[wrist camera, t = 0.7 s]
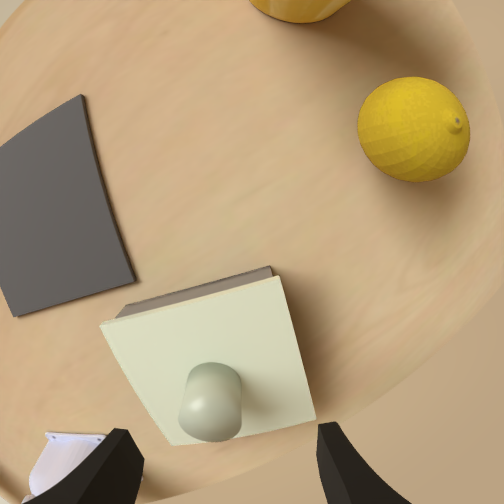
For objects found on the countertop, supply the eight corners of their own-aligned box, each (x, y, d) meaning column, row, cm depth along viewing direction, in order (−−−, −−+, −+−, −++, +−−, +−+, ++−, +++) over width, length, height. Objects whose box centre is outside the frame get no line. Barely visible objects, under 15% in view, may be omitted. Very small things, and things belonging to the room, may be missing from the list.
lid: (174, 432, 19) (164, 480, 15) (108, 315, 17) (73, 356, 12) (312, 406, 19) (327, 455, 14) (276, 270, 16) (290, 307, 12)
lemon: (327, 104, 16) (384, 60, 8) (400, 91, 16) (476, 59, 8) (353, 189, 18) (425, 200, 10) (422, 169, 17) (507, 173, 10)
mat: (16, 315, 19) (13, 317, 19) (-28, 172, 16) (-31, 172, 15) (136, 279, 18) (134, 281, 18) (83, 95, 15) (80, 94, 15)
